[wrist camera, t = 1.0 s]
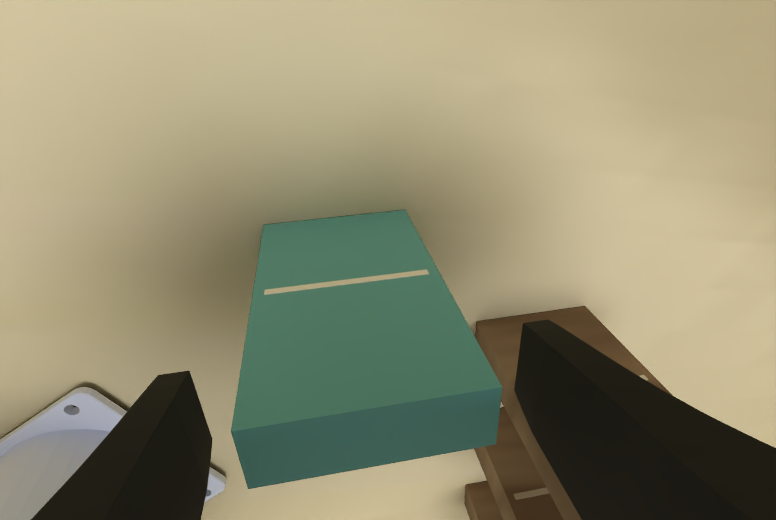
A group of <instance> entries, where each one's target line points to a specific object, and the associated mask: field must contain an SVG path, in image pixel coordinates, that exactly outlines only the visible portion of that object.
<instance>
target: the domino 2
mask: <svg viewBox="0 0 776 520" xmlns="http://www.w3.org/2000/svg"><path fill="white" fill-rule="evenodd" d="M474 449H475V452H476V454H477V457H478V459H479V461H480V464H481V466H482V469H483V471H484V474H485V476H486V479H487V481H488V484H489V486H490V488H491V491H492V493H493V496H494V498H495V501H496V503H497V506H498V508H499V511H500V513H501V516H502V518H503V520H563V518H562V516H561V514H560V512H559V510H558V508H557V506H556V505H555V503H554V501H553V499H552V497H551V495H550V493H549V491H548V489H547V487H546V485H545V484H544V482H543V480H542V478H541V476H540V474H539V472H538V470H537V468H536V466H535V465H534V463H533V461H532V459H531V457H530V455H529V453H528V451H527V449H526V447H525V446H524V444H523V442H522V440H521V438H520V436H519V434H518V432H517V430H516V428H515V426H514V425H513V423H512V421H511V419H510V417H509V415H508V413H507V411H506V409H505V407H503V408H500V413H499V422H498V431H497V440H496V444H495V445H490V446H484V447H479V448H474Z"/></svg>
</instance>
